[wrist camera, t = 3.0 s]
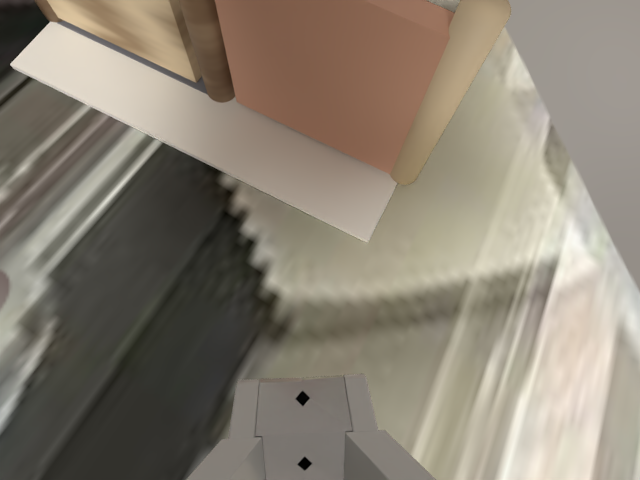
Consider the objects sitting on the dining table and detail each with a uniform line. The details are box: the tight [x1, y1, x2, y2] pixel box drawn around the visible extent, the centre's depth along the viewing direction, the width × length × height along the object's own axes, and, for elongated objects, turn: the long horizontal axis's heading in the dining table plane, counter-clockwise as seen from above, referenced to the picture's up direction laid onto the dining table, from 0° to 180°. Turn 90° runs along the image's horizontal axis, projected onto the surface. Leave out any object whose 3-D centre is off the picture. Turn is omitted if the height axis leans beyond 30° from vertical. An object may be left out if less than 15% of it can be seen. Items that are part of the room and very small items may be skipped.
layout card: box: [10, 21, 398, 243], centre depth 29 cm, size 26×16×1 cm, turn 63°
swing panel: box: [215, 0, 511, 185], centre depth 21 cm, size 12×2×12 cm, turn 63°
